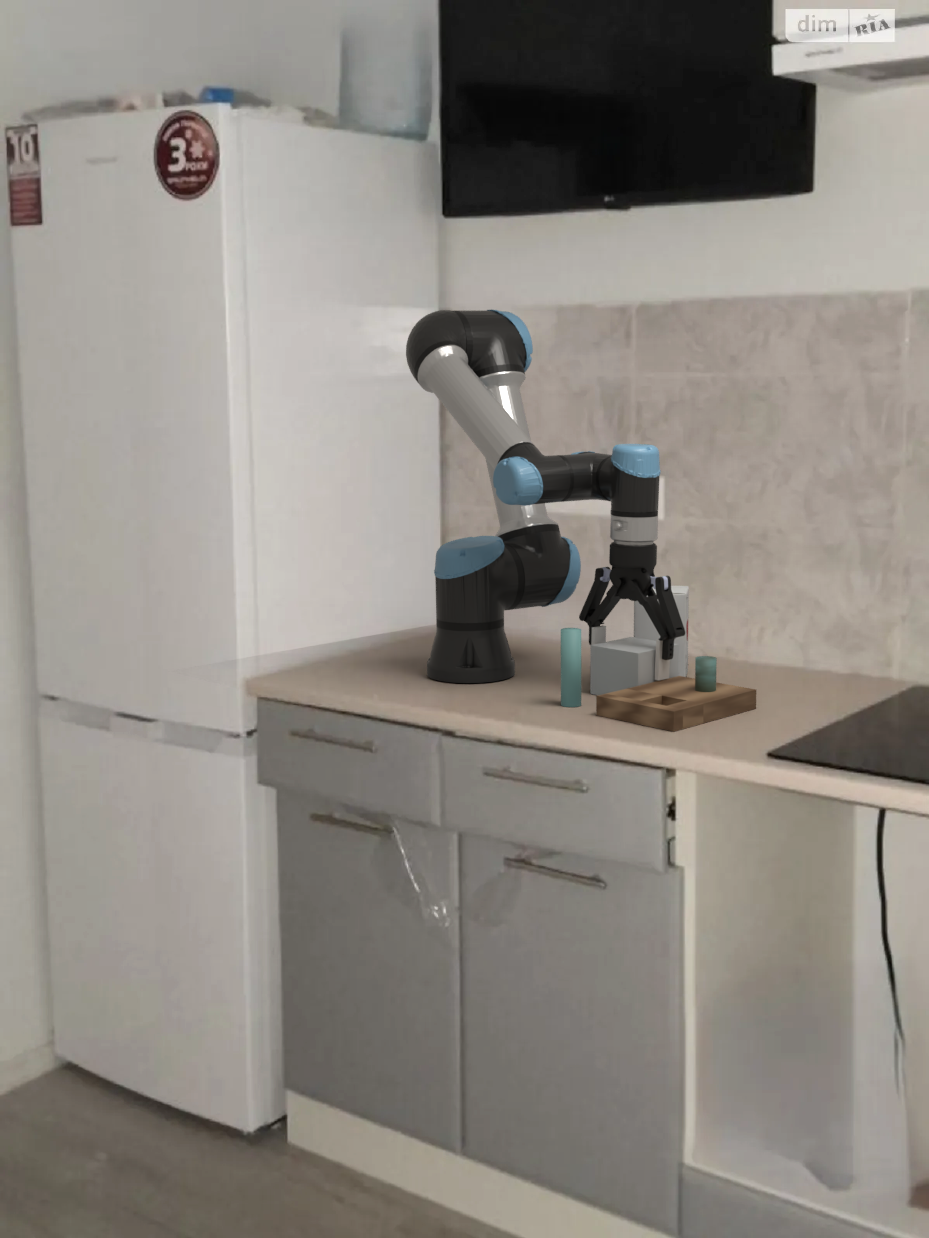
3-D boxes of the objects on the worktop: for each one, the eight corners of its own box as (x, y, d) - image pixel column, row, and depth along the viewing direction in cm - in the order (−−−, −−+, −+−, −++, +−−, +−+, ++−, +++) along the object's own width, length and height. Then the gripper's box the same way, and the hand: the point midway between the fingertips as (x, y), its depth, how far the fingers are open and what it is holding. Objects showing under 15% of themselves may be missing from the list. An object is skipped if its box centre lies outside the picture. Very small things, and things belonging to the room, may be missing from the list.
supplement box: (686, 681, 254) (687, 593, 252) (632, 680, 256) (632, 592, 254) (689, 670, 263) (690, 584, 261) (637, 669, 265) (637, 584, 262)
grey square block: (590, 693, 246) (590, 645, 245) (630, 684, 253) (630, 636, 252) (638, 703, 239) (638, 653, 238) (678, 693, 246) (678, 644, 244)
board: (596, 715, 232) (596, 663, 230) (679, 693, 245) (679, 645, 244) (673, 731, 221) (674, 677, 219) (756, 708, 234) (757, 657, 233)
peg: (556, 704, 239) (556, 629, 237) (570, 701, 241) (570, 627, 239) (571, 708, 236) (571, 632, 234) (585, 704, 239) (585, 629, 237)
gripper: (559, 536, 249) (557, 663, 252) (680, 552, 231) (675, 688, 235) (590, 532, 254) (587, 657, 258) (710, 547, 236) (705, 681, 240)
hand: (629, 672), depth 246 cm, fingers open, 13 cm apart
